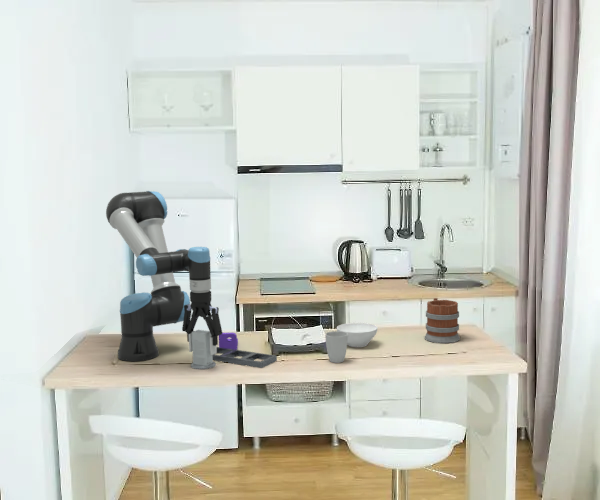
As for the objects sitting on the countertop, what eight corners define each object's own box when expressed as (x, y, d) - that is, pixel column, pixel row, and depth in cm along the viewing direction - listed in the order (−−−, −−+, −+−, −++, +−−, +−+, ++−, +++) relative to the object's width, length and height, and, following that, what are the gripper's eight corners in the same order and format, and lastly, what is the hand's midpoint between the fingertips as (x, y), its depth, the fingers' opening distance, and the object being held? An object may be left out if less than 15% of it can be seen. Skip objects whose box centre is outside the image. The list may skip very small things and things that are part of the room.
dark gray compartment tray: (200, 358, 284) (200, 353, 284) (217, 351, 293) (216, 346, 292) (261, 368, 270) (261, 362, 270) (276, 360, 279) (276, 355, 279)
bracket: (237, 350, 295) (236, 333, 294) (219, 351, 295) (218, 334, 294) (238, 342, 307) (237, 326, 306) (220, 343, 306) (220, 326, 305)
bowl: (379, 350, 291) (379, 332, 290) (337, 350, 291) (337, 332, 290) (376, 339, 307) (375, 322, 306) (336, 340, 307) (336, 322, 306)
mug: (428, 344, 298) (429, 306, 296) (418, 332, 317) (418, 296, 315) (464, 343, 298) (464, 305, 296) (451, 331, 317) (451, 295, 315)
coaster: (185, 367, 273) (185, 365, 273) (201, 360, 281) (201, 359, 281) (205, 370, 269) (205, 369, 269) (220, 364, 276) (220, 362, 276)
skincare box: (213, 363, 275) (212, 331, 274) (206, 366, 272) (205, 333, 270) (199, 361, 278) (198, 329, 276) (192, 364, 274) (191, 331, 273)
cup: (350, 358, 280) (350, 332, 279) (344, 364, 273) (344, 337, 271) (329, 356, 283) (329, 330, 281) (322, 363, 275) (322, 336, 274)
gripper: (170, 290, 273) (172, 351, 276) (218, 295, 262) (221, 358, 265) (183, 286, 280) (185, 346, 283) (231, 291, 269) (233, 353, 272)
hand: (202, 352), depth 274 cm, fingers open, 9 cm apart
